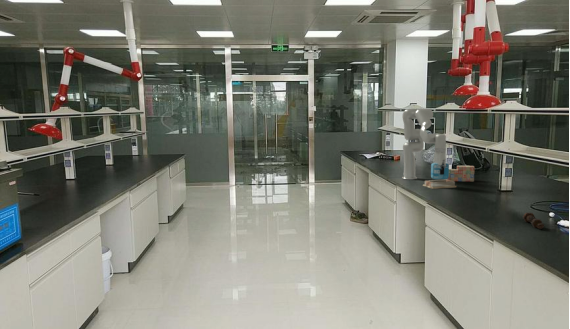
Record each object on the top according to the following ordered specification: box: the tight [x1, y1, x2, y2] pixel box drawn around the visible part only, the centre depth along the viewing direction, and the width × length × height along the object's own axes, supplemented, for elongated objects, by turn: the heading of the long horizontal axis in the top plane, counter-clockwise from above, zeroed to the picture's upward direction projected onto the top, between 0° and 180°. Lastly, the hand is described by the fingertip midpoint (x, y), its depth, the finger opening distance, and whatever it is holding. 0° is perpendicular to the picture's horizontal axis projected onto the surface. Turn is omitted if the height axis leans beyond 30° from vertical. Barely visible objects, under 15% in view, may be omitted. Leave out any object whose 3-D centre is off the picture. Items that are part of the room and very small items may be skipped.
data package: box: [430, 162, 450, 180], centre depth 315 cm, size 12×4×12 cm, turn 88°
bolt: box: [522, 212, 545, 230], centre depth 208 cm, size 6×5×15 cm
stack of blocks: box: [447, 165, 475, 182], centre depth 338 cm, size 21×6×12 cm, turn 77°
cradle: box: [422, 179, 457, 190], centre depth 316 cm, size 14×20×4 cm
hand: (439, 173), depth 315 cm, fingers closed on data package, 5 cm apart
